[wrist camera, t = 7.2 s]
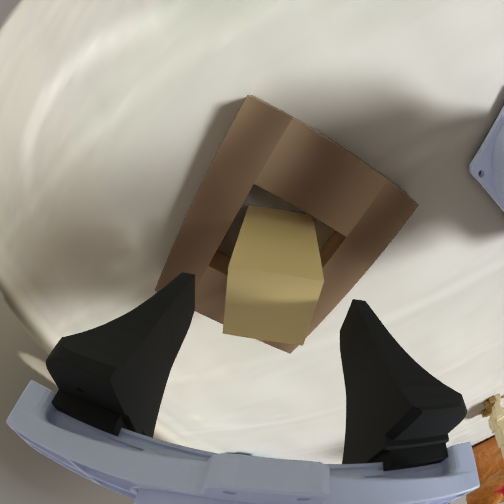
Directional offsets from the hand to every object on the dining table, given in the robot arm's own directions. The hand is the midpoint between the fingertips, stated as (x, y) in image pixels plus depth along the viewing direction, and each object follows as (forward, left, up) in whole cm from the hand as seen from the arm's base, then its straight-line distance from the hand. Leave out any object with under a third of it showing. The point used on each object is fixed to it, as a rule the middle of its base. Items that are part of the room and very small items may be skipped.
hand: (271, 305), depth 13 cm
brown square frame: (0, 0, -7) cm, 7 cm away
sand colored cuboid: (0, 0, -7) cm, 7 cm away
